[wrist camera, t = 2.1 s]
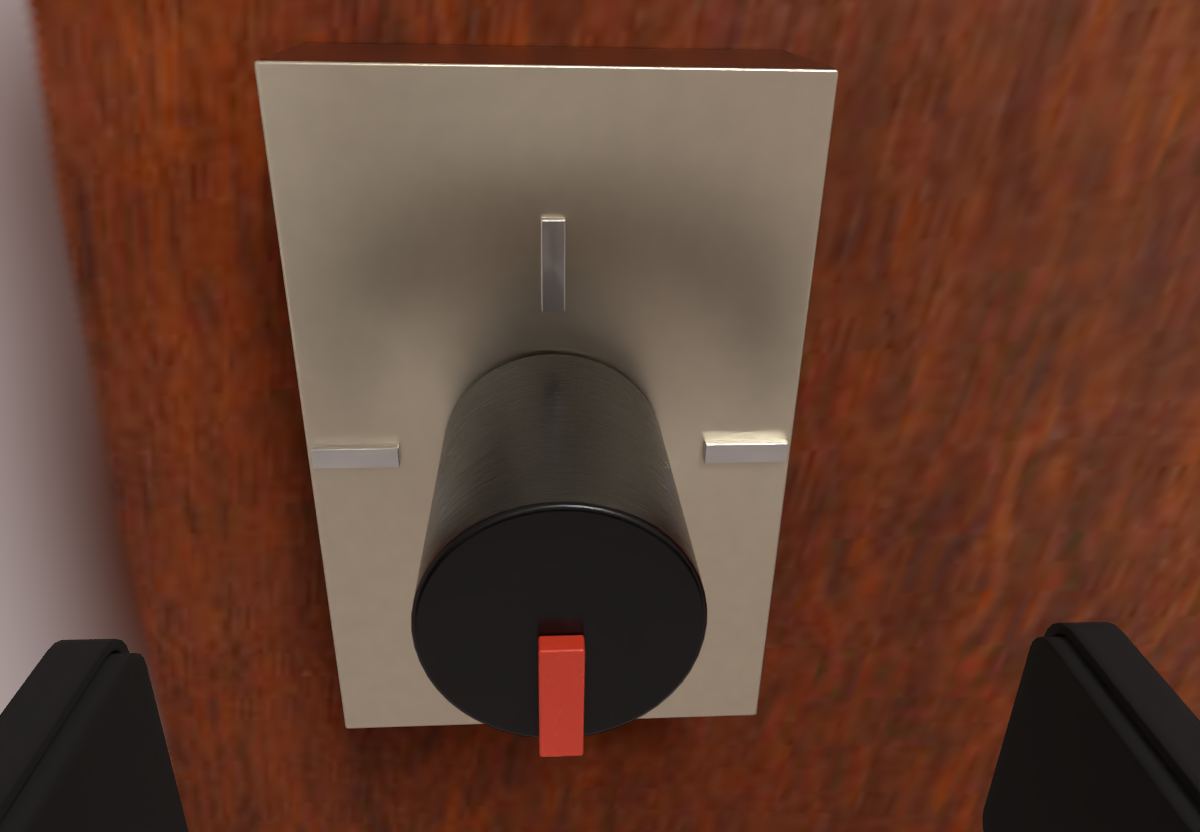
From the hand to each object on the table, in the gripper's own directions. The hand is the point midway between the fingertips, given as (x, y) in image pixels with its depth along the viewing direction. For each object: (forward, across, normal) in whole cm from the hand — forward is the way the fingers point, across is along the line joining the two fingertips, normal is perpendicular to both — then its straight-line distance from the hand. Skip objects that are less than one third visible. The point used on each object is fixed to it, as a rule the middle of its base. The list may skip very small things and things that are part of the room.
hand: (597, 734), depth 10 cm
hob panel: (+9, 0, 0) cm, 9 cm away
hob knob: (+6, 0, 0) cm, 6 cm away
